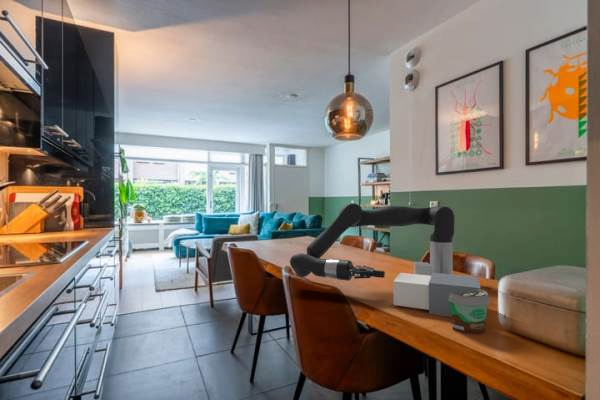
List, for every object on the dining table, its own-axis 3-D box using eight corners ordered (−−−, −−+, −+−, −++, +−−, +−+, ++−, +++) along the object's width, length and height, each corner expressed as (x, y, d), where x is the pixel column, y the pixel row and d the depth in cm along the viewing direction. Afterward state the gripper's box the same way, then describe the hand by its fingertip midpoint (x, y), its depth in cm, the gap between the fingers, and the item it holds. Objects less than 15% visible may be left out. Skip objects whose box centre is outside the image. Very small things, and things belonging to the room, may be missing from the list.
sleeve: (429, 313, 96) (428, 282, 96) (432, 299, 110) (432, 272, 110) (481, 321, 89) (480, 288, 89) (477, 305, 103) (477, 276, 104)
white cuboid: (393, 304, 102) (393, 281, 102) (400, 293, 114) (400, 272, 114) (479, 316, 90) (479, 290, 90) (477, 303, 103) (476, 279, 103)
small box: (432, 293, 118) (432, 265, 118) (417, 292, 119) (416, 265, 119) (428, 287, 126) (427, 262, 126) (413, 287, 127) (413, 261, 127)
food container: (469, 339, 77) (468, 299, 77) (448, 330, 83) (448, 293, 83) (501, 331, 82) (500, 293, 82) (479, 323, 88) (479, 288, 88)
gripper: (332, 262, 112) (380, 267, 104) (344, 257, 124) (388, 261, 116) (332, 283, 112) (380, 289, 104) (344, 275, 124) (388, 281, 116)
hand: (384, 274), depth 110 cm, fingers closed
